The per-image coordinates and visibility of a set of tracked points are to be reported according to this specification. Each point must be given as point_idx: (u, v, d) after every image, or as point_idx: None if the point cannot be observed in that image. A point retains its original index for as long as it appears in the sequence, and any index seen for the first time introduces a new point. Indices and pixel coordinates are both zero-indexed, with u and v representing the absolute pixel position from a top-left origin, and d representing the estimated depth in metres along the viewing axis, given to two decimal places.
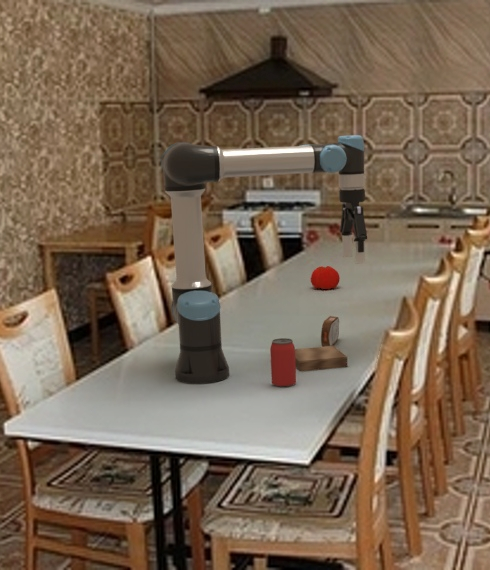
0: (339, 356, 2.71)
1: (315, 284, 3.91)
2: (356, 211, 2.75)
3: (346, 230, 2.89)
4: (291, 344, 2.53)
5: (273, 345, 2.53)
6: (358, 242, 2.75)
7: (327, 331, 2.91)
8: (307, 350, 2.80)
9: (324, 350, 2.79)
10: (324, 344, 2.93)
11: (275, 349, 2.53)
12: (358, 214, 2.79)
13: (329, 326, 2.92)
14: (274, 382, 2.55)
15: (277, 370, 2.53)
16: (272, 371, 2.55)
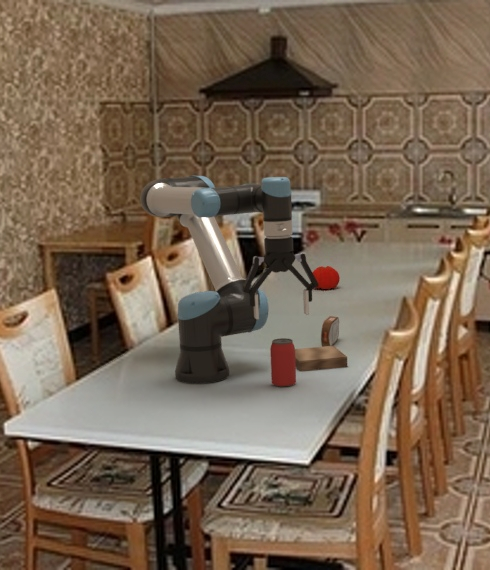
0: (339, 356, 2.71)
1: None
2: None
3: (302, 283, 2.53)
4: (291, 344, 2.53)
5: (273, 345, 2.53)
6: None
7: (327, 331, 2.91)
8: (307, 350, 2.80)
9: (324, 350, 2.79)
10: (324, 344, 2.93)
11: (275, 349, 2.53)
12: (268, 265, 2.50)
13: (329, 326, 2.92)
14: (274, 382, 2.55)
15: (277, 370, 2.53)
16: (272, 371, 2.55)
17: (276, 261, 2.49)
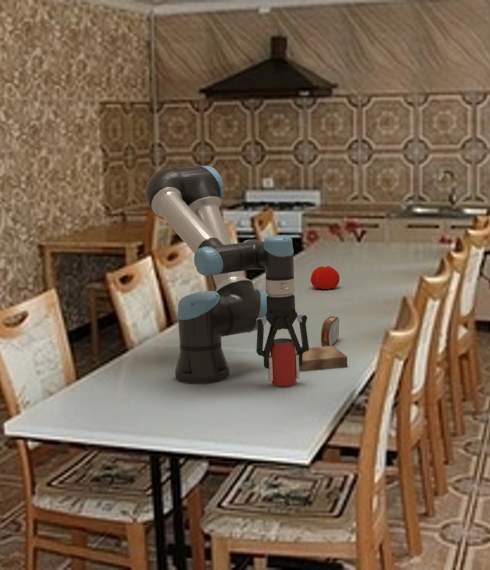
0: (339, 356, 2.71)
1: (315, 284, 3.91)
2: (256, 323, 2.53)
3: (294, 345, 2.56)
4: (291, 344, 2.53)
5: (273, 345, 2.53)
6: None
7: (327, 331, 2.91)
8: None
9: (324, 350, 2.79)
10: (324, 344, 2.93)
11: (275, 349, 2.53)
12: (272, 325, 2.53)
13: (329, 326, 2.92)
14: (274, 382, 2.55)
15: (277, 369, 2.53)
16: None
17: (278, 319, 2.51)
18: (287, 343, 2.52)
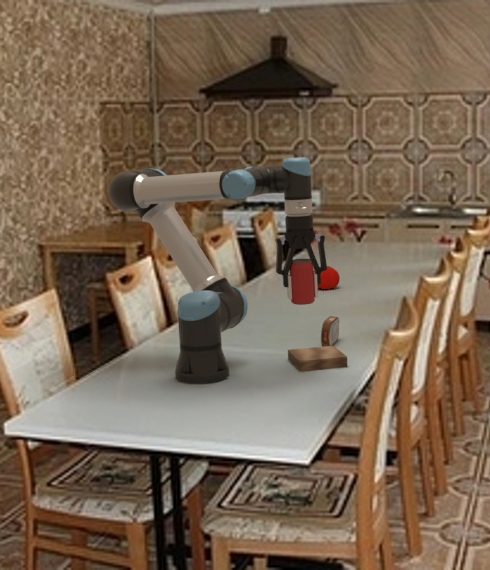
0: (339, 356, 2.71)
1: None
2: (276, 243, 2.62)
3: (313, 265, 2.64)
4: (309, 263, 2.61)
5: (292, 264, 2.61)
6: None
7: (327, 331, 2.91)
8: (307, 350, 2.80)
9: (324, 350, 2.79)
10: (324, 344, 2.93)
11: (294, 268, 2.61)
12: (291, 244, 2.61)
13: (329, 326, 2.92)
14: (293, 300, 2.63)
15: (296, 288, 2.61)
16: None
17: (296, 238, 2.60)
18: (305, 262, 2.60)
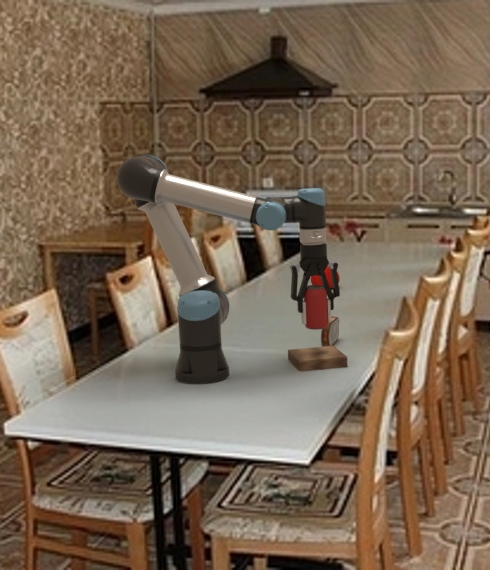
0: (339, 356, 2.71)
1: (315, 284, 3.91)
2: (291, 270, 2.72)
3: (326, 291, 2.74)
4: (323, 289, 2.71)
5: (306, 290, 2.71)
6: None
7: (327, 331, 2.91)
8: (307, 350, 2.80)
9: (324, 350, 2.79)
10: (324, 344, 2.93)
11: (309, 294, 2.71)
12: (305, 272, 2.71)
13: (329, 326, 2.92)
14: (307, 325, 2.73)
15: (310, 313, 2.71)
16: None
17: (311, 266, 2.70)
18: (320, 288, 2.70)
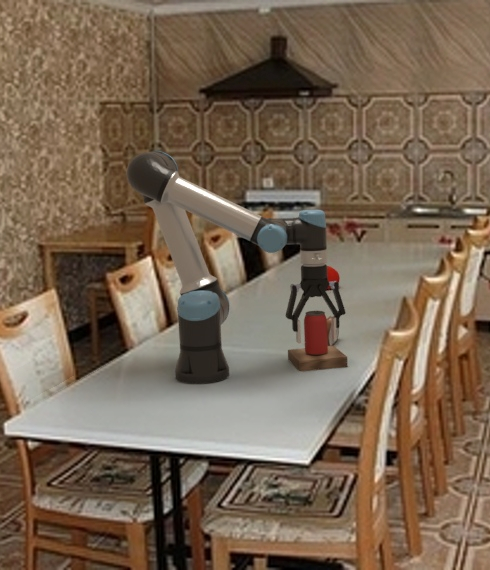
0: (339, 356, 2.71)
1: None
2: None
3: (331, 310, 2.75)
4: (323, 316, 2.73)
5: (307, 316, 2.73)
6: None
7: (327, 331, 2.91)
8: None
9: None
10: None
11: (309, 321, 2.72)
12: (305, 292, 2.72)
13: (329, 326, 2.92)
14: (307, 351, 2.74)
15: (310, 339, 2.73)
16: (306, 341, 2.74)
17: (312, 287, 2.71)
18: (320, 315, 2.72)
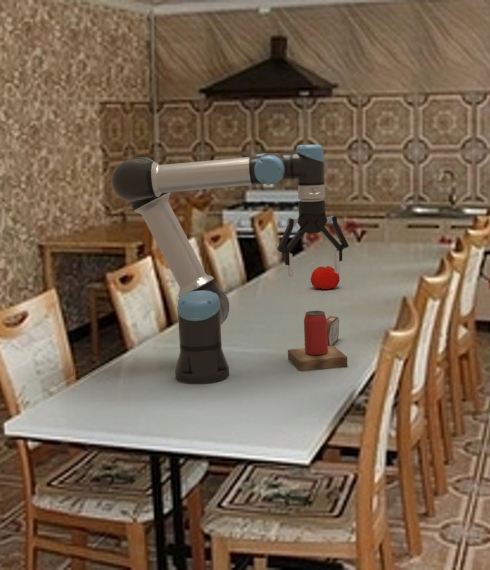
0: (339, 356, 2.71)
1: (315, 284, 3.91)
2: None
3: (333, 244, 2.72)
4: (323, 316, 2.73)
5: (307, 316, 2.73)
6: None
7: (327, 331, 2.91)
8: None
9: None
10: None
11: (309, 321, 2.72)
12: (302, 227, 2.68)
13: (329, 326, 2.92)
14: (307, 351, 2.74)
15: (310, 339, 2.73)
16: (306, 341, 2.74)
17: (309, 223, 2.67)
18: (320, 315, 2.72)
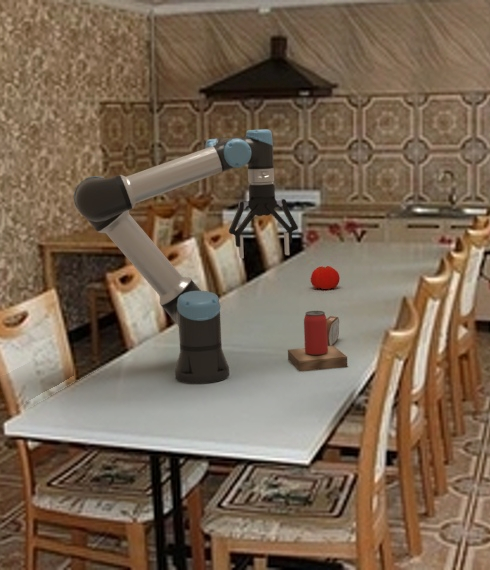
0: (339, 356, 2.71)
1: (315, 284, 3.91)
2: (238, 205, 2.77)
3: (283, 226, 2.80)
4: (323, 316, 2.73)
5: (307, 316, 2.73)
6: None
7: (327, 331, 2.91)
8: None
9: None
10: None
11: (309, 321, 2.72)
12: (252, 209, 2.76)
13: (329, 326, 2.92)
14: (307, 351, 2.74)
15: (310, 339, 2.73)
16: (306, 341, 2.74)
17: (259, 205, 2.75)
18: (320, 315, 2.72)
